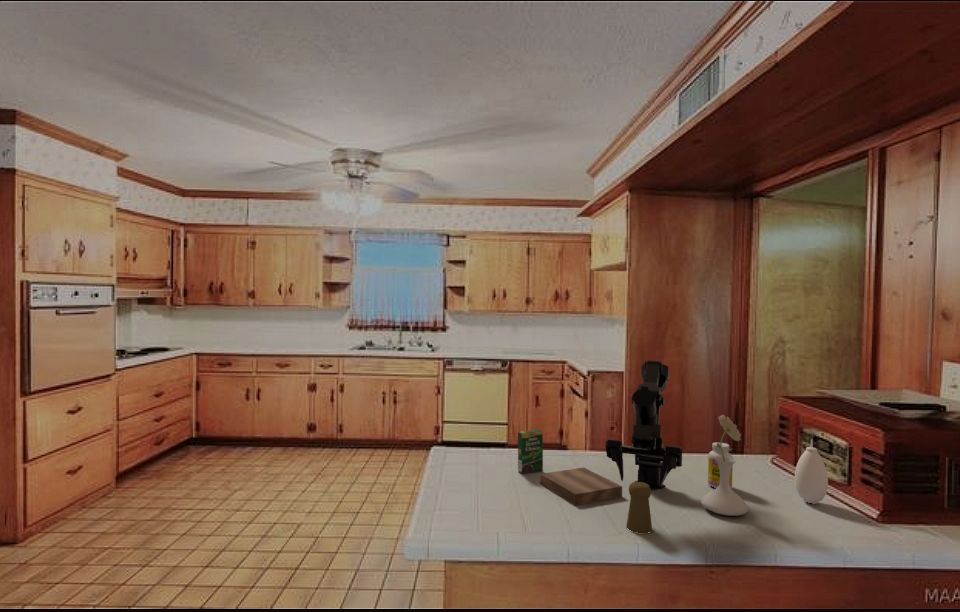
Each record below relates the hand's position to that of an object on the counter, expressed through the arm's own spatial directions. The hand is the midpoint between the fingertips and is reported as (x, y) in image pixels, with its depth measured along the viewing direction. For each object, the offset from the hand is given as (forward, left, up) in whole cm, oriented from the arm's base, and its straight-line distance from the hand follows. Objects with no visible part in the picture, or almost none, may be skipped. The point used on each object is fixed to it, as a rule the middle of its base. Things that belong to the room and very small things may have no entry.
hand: (640, 482), depth 128 cm
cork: (+2, +2, -10) cm, 11 cm away
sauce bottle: (-54, +8, -10) cm, 55 cm away
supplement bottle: (-41, -11, -10) cm, 43 cm away
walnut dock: (0, -25, -10) cm, 27 cm away
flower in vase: (-27, +2, -10) cm, 29 cm away
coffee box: (+5, -45, -10) cm, 46 cm away
